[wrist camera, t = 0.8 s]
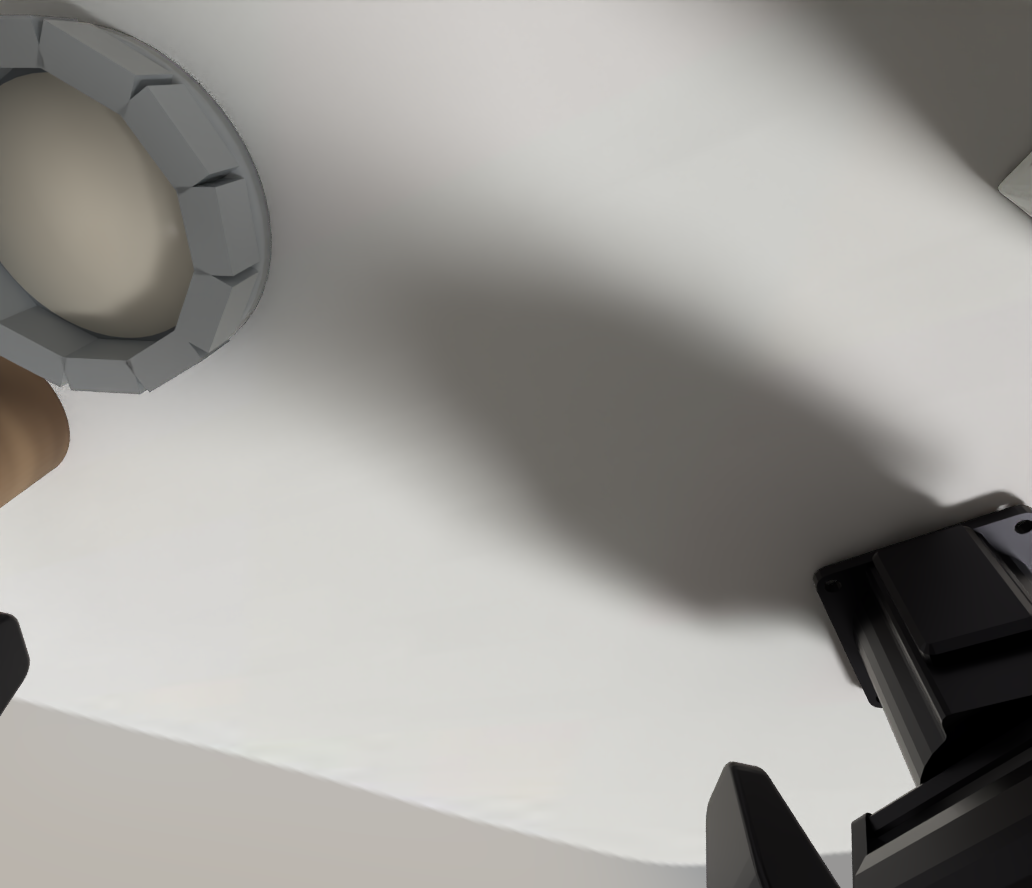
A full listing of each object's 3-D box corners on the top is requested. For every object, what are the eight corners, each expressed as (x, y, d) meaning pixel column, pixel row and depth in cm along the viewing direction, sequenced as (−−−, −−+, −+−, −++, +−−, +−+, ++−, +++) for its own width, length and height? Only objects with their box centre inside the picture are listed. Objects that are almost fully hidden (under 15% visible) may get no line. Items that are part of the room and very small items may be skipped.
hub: (334, 275, 19) (300, 301, 17) (122, 403, 22) (69, 439, 20) (107, -62, 16) (28, -82, 14) (-107, 142, 19) (-198, 152, 17)
